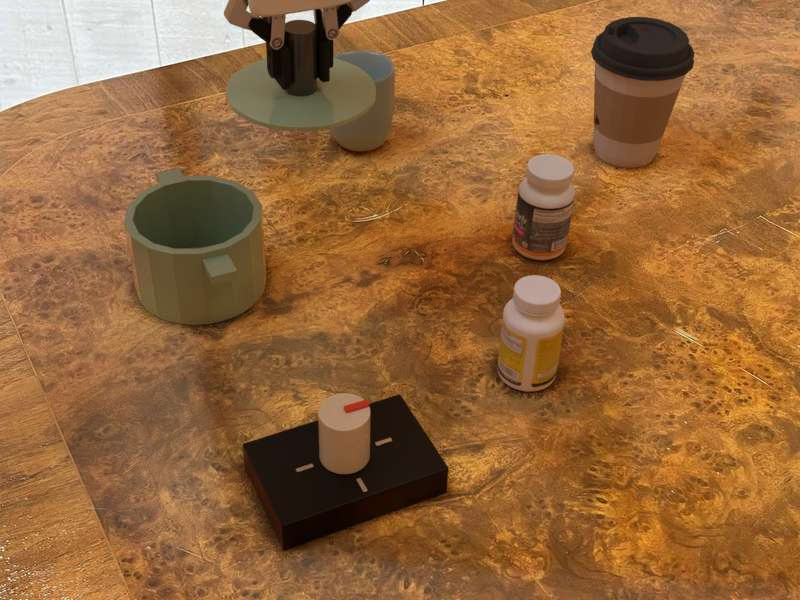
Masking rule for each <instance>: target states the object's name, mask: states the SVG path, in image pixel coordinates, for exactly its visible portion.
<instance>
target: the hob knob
mask: <svg viewBox="0 0 800 600" xmlns="http://www.w3.org/2000/svg"><path fill="white" fill-rule="evenodd" d="M369 404H370V403H369V401H368V399H364V398H363V397H361V396H359V395H357V394H354V393H350V392H349V393H348V392H341V393H335V394H332V395H330V396H328V397H326V398H325V399H324V400H323V401H322V402H321V403H320V405H319V406H318V410H317V420H318V424H319V456H320V461H321V463H322V464H323V466H324V467H325V468H326V469H328V470H329V471H331V472H334V473H337V474H351V473H355V472H357V471H359V470H361V469H362V468H364V467H365V466H366V464H367V463H368V461H369V458H370V413H371V412H370V407H369Z"/></svg>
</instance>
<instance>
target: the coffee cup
mask: <svg viewBox="0 0 800 600" xmlns="http://www.w3.org/2000/svg"><path fill="white" fill-rule="evenodd" d="M590 53H591V57H592V60H594V87H593V88H594V90H593V91H594V94H593V95H594V96H593V137H592V141H593V146H594V153H595V154H596V156H597V158H599V159H600V160H602V161H603V162H604V163H606V164H608V165H611V166H614V167H619V168H624V169H625V168H626V169H635V168H642V167H645V166H647V165H649V164H650V163H651V162H652V161H653V160H654V158H655V156H656V155H657V154H658V151H659V148H660V145H661V143H662V141H663V137H664V135H665V132H666V129H667V126H668V124H669V121H670V118H671V115H672V113H673V110H674V107H675V105H676V101H677V99H678V96H679V93H680V90H681V89H682V86H683V82H684V80H685V78H686V75H687V74H688V73H689V72H690V71H691V70H693V68H694V64H695V60H694V58H695V51H694V49H693V47H692V45H691V44H690V38H689V36H688V34H687V33H686V32H685V31H684V30H683V29H682V28H680V27H679V26H678V25H676V24H674V23H671V22H669V21H665V20H662V19H659V18H655V17H654V18H653V17H648V16H629V17H622V18H618V19H615V20H612V21H611V22H609V23H608V24H606V25H605V27H604V30H603V31H602V32H600V33H599V34H598V35H596V36H595V39H594V41H593V44H592V47H591V50H590Z"/></svg>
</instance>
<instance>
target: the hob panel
mask: <svg viewBox="0 0 800 600" xmlns="http://www.w3.org/2000/svg"><path fill="white" fill-rule="evenodd" d="M369 407H370V412H371V413H370V458H369V461H368V463H367V464H366V466H365V467H364V468H362V469H361V470H359V471H357V472H355V473H351V474H337V473H334V472H331V471H329V470H328V469H326V468H325V467H324V466H323V464H322V463H321V461H320V456H319V424H318V419H317V420H313V421H311V422H307V423H304V424H301V425H298V426H295V427H292V428H288V429H285V430H281V431H278V432H275V433H272V434H269V435H265V436H264V437H263V436H262V437H259V438H257V439H253V440H250V441H247V442H244V443H242V444H241V445H242V455H243V463H244V466H243V467H244V470H245V472H246V475H247V477H248V479H249V480H250V483H251V485H252V487H253V489H254V491H255V493H256V495H257V498H258V500H259V502H260V504H261V506H262V509H263V511H264V513H265V515H266V517H267V519H268V521H269V523H270V525H271V528H272V530H273V533H274V535H275V537H276V539H277V540H278V543H279V544H280V547H281V549H282V551H288V550H290V549H292V548H295V547H298V546H300V545H304V544H306V543H309V542H312V541H314V540H317V539H320V538H323V537H326V536H329V535H332V534H334V533H337V532H340V531H343V530H345V529H348V528H351V527H353V526H357V525H359V524H363V523H365V522H368V521H371V520H373V519H376V518H379V517H382V516H385V515H387V514H390V513H393V512H397V511H398V510H402V509H404V508H408V507H410V506H413V505H415V504H418V503H421V502H424V501H426V500H429V499H432V498H435V497H438V496H440V495H443V494H446V493H447V490H448V480H449V467H448V464H447V463H446V462H445V460H444V459H443V457H442V456H441V454H440V452H439V451H438V450H437V447H435V445H434V443H433V442H432V441H431V439H430V437H429V436H428V434H427V433H426V431H425V430H424V429H423V427H422V425H421V424H420V422H419V421H418V419H417V417H416V416H415V415H414V413H413V412H412V410H411V408H410V407H409V406H408V404H407V403H406V401H405V399H404V397H402V395H401V394H400V393H399V394H395V395H393V396H390V397H385V398H383V399H380V400H376V401H373V402H370V403H369Z"/></svg>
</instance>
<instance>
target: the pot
mask: <svg viewBox="0 0 800 600" xmlns="http://www.w3.org/2000/svg"><path fill="white" fill-rule="evenodd" d="M155 175H156V182H157V183H156V184H153V185H152V186H150V187H148V188H146V189H145V190H142V191H141V192H140V193H138V194H137V196H136V197H135V198H134V199H133V200H132V201H131V202H130V203H129V204H128V205H127V208H126V212H125V215H124V218H123V225H124V230H125V237H126V241H127V248H128V255H129V260H130V266H131V271H132V277H133V278H132V279H133V283H134V284H133V285H134V289H135V291H136V293H137V296H138V297H137V298H138V300H139V302H140V303H141V305H142V306H143V307H144V308H145V310H147V311H148V312H149V313H150V314H152V315H154V316H155V317H157V318H159V319H162V320H163V321H167V322H170V323H175V324H179V325H190V326H202V325H210V324H211V325H212V324H216V323H221V322H224V321H227V320H230V319H233V318H235V317H237V316H239V315H241V314H243V313H244V312H246V311H248V310H249V309H251V308H252V307H253V306H254V305H255V304H256V303H257V302H258V301H259V300H260V298H261V297H262V295H263V293H264V291H265V289H266V285H267V258H266V245H265V230H264V216H263V205H262V203H261V202H260V200H259V198H258V197H257V195H256V194H255V192H254V191H253V190H251V189H250V188H248V187H246V186H245V185H243V184H241V183H240V182H238V181H236V180H232V179H228V178H223V177H219V176H215V175H184V174H183V172H182V170H181V168H180V167H179V168H178V167H177V168H174V169H169V170H165V171H160V172H156V173H155Z"/></svg>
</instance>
